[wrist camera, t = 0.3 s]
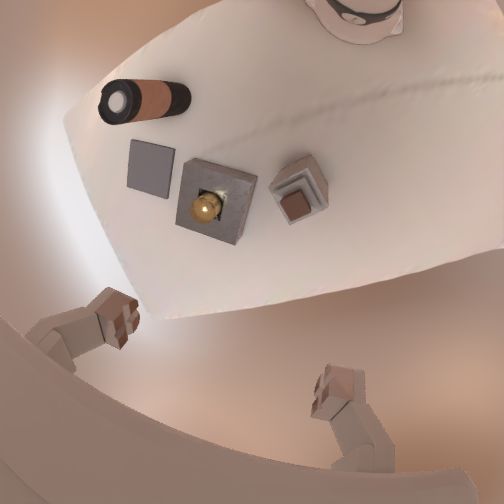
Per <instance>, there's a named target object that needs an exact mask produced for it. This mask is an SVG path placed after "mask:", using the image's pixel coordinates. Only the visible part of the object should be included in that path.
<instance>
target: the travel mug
mask: <svg viewBox="0 0 504 504" xmlns="http://www.w3.org/2000/svg"><path fill="white" fill-rule="evenodd" d="M101 93H102V96H101V100H100V103H99V105H98V111H99V114H100V116H101V118H102V119H103V121H104V122H106V123H107V124H110V125H119V124H124V123H130V122H137V121H143V120H151V119H157V118H163V117H168V116H174V115H178V114H181V113H183V112H185V111H186V110H187V109H188V107H189V105H190V103H191V93H190V91H189V89H188V88H187V87H186V86H185V85H183V84H179V83H173V82H167V81H159V80H138V79H117V80H113V81H111V82H109V83H108V84H106V85H105V86H104V88H103V89H102V91H101Z"/></svg>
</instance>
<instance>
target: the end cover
mask: <svg viewBox="0 0 504 504" xmlns="http://www.w3.org/2000/svg"><path fill="white" fill-rule="evenodd" d="M224 200H225V196H223V195H220V194H217V193H214V192H211V191H207V192H205V193H204V194H203V195H201V196H200V197H199V198H197V199H196V200H195V201H193V202H192V204H191V206H190V214H191V216H192V218H193V219H194V220H195V221H196V222H198V223H200V224H207V223H209V222H211V221H212V220H213V219H214V218H215V217H216V216H217V215H218V214H219V213H220V212H221V211H222V209H223V205H224Z"/></svg>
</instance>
